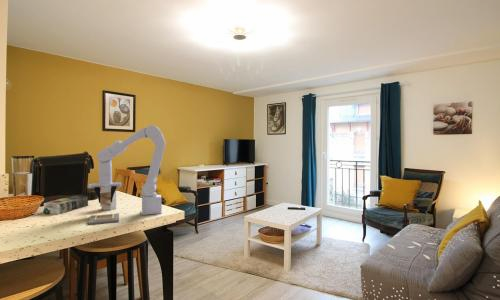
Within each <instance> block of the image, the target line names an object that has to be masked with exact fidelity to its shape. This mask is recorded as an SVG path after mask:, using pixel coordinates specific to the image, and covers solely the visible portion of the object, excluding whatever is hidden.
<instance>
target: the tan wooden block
mask: <svg viewBox="0 0 500 300" xmlns="http://www.w3.org/2000/svg"><path fill="white" fill-rule="evenodd" d="M99 204H100V205H99V206H100V207H101V208H102V206H111V192H102V191H100V203H99Z"/></svg>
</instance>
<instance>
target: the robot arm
mask: <svg viewBox="0 0 500 300" xmlns="http://www.w3.org/2000/svg"><path fill="white" fill-rule="evenodd" d="M144 138H145V139H146V138H148V139H150V140H151V141H152V142H153V144H154V145H155V147H154V151H153V154H152V158H151V162H150V165H149V166H150V167H149V170H148V174H147V177H146V180H145V181H144V184H143V185H142V186H141V193H142V194H141V210H140V215H141V216H145V215H157V214H162V208H163V207H162V195H161V194H158V193H157V192H156V191H157V189H158V185H157V180H158V175H159V171H160V168H161V164H162V160H163V157H164V153H165V149H166V144H167V143H166V140H165V137H164V134H163V132H162V130H161V129H160V128H159V127H158V126H156V125H153V124H149V125H148V126H146V127H143V128H141V129H139V130H138V131H136V132H135V133H133V134H132V135H129V136H128V137H127V138H125V139H124V140H115V141H113V143H112V144H110V145H109V146H106V147H105V148H104V149H100V150H99V151H98V153H97V160H98V182H97V183H89V184H88V186H87V187H88V189H93V191H94V192H95V195H96V196H97V197H96V198H97V199H98V204H100V193H101V190H102V189H101V188H105V187H111V202H112V199H113V195H114V193H115V191H116V192H117V188H122V187H123V183H122V181H121V182H113V165H112V164H113V163H112V160H113V158H115V157H118V156H119V155H120V154H122V153H124V152H126V150H127V148H128V146H130V145H131V144H134V143H135V142H137V141H138V140H141V139H144Z"/></svg>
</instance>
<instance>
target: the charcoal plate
mask: <svg viewBox="0 0 500 300" xmlns="http://www.w3.org/2000/svg"><path fill="white" fill-rule="evenodd" d="M119 221H120V213H119V212H117V213H108V214H107V213H106V214H97V215H95V214H94V215H90V216H89V220H88V222H87V225H88V226H92V225H103V224H111V223H112V224H113V223H119Z"/></svg>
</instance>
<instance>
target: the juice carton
mask: <svg viewBox="0 0 500 300" xmlns="http://www.w3.org/2000/svg"><path fill="white" fill-rule="evenodd" d="M86 207H89V196H88V195H76V194H74V195H72V196H68V197H64V198H59V199H55V200H51V201H48V202H44V203H43V210H42V213H43V214H49V215H62V214H65V213H68V212H71V211H75V210H79V209H82V208H86Z"/></svg>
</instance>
